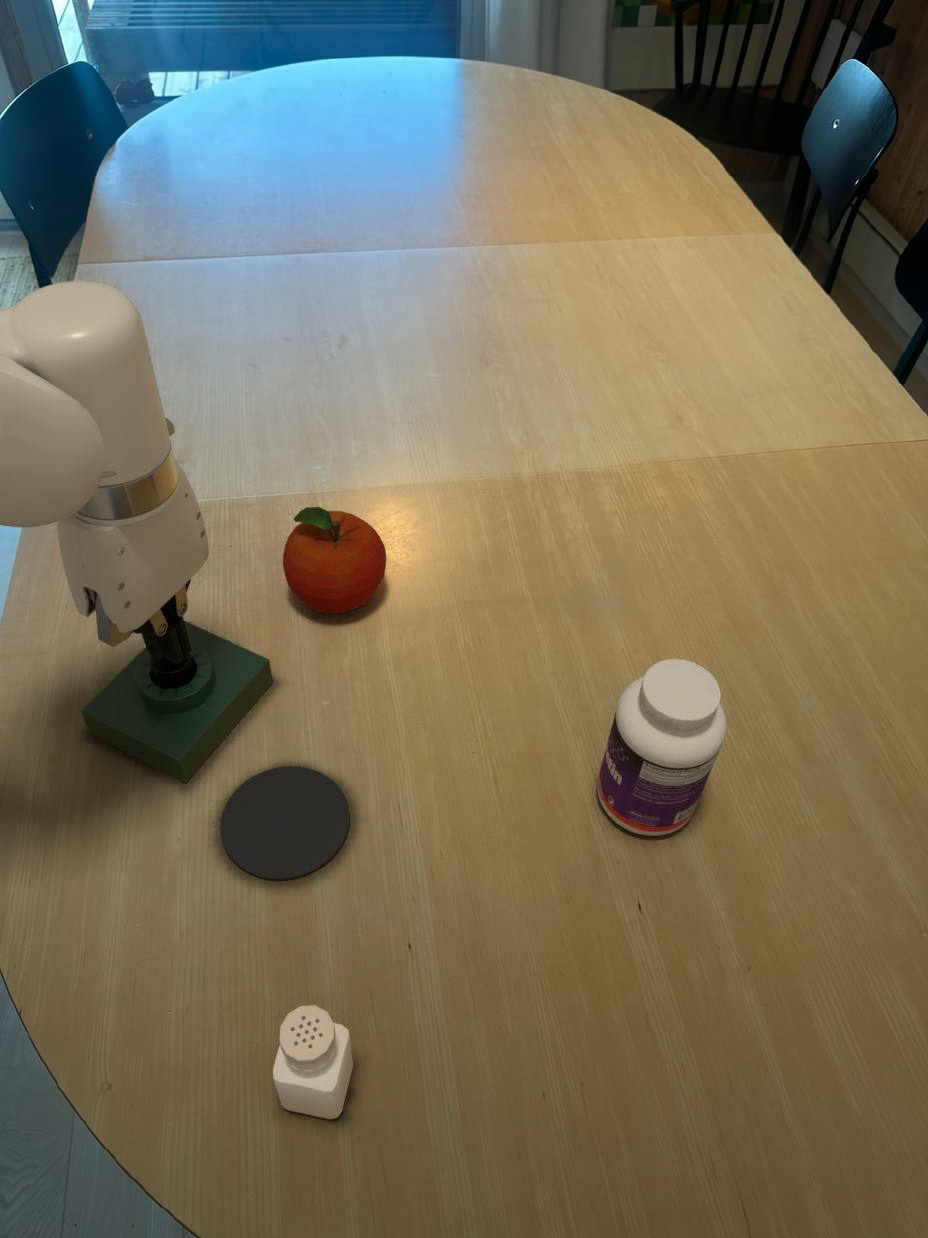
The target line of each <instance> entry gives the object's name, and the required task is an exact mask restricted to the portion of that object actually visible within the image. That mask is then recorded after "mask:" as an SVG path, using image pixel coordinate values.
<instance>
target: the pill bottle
mask: <svg viewBox="0 0 928 1238" xmlns="http://www.w3.org/2000/svg"><path fill="white" fill-rule="evenodd" d="M721 695H722V693H721V689H720V686H719V683H718V682H717V680H716V678H715V677H714V675H713V674H712V673H710V672H709V671H708V670H707V669H706V668H704V667H703V666H702V665H700V664H698V663H695V662H693V661H689V660H687V659H680V658H670V659H664V660H661V661H658V662H656V663H654V664H653V665H651V667H649V668H648V669H647V670H646V672H645V673H644V676H641V677H639V678H638V679H636V680H634V681H633V682H631V683H630V684H629V685H628V686H627V687H626V688H625V689H624V690H623V692H622V694H621V695H620V696H619V699H618V702H617V705H616V709H615V713H614V716H613V721H612V723H611V727H610V732H609V735H608V739H607V743H606V746H605V750H604V754H603V759H602V761H601V765H600V769H599V771H598V777H597V782H596V788H597V796H598V798H599V801H600V804H601V807H602V808H603V809H604V811H605V813H606V814H607V815H608V816H609V817H610V818H611V820H612V821H614V822H615V823H616V824H617V825H619V826H620V827H622V828H623V829H625V830H627V831H629V832H632V833H634V834H638V835H643V836H652V837H653V836H656V837H657V836H665V835H668V834H671V833H673V832H676V831H678V830H680V829H681V828H682V827H684V826H685V825H686V824H687V823H688V822H689V820H690V819H691V818H692V816H693V814H694V813H695V810H696V809H697V806H698V804H699V801H700V799H701V796H702V794H703V791H704V789H705V787H706V784H707V781H708V779H709V776H710V774H711V772H712V770H713V767H714V765H715V762H716V760H717V758H718V755H719V754H720V751H721V748H722V747H723V744H724V741H725V739H726V736H727V735H726V734H727V718H726V717H727V716H726V713H725V711H724V709H723V705H722V704H721V697H722V696H721Z"/></svg>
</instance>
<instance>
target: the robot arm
mask: <svg viewBox="0 0 928 1238" xmlns="http://www.w3.org/2000/svg"><path fill="white" fill-rule="evenodd" d="M144 325H145V324H144V322H143V318H142V315H141V313H140V311H139V309H138V307H137V306H136V305H135V303H134V302H133V300H132V299H131V298H130V297H129V296H128V295H127V294H125V292H123V291H122V290H120V289H119V288H116V287H114V286H111V285H109V284H106V283H104V282H103V283H102V282H98V281H90V280H68V281H61V282H56V283H53V284H49V285H46V286H42V287H39V288H38V289H36V290H34V291H32V292H30V293H29V294H27V295H25V296H24V297H22V298H21V300H20V301H18V302H17V303H16V304H15V305H13V306H10V307H6V308H2V309H0V526H2V527H9V528H10V527H11V528H38V527H42V526H48V525H51V524H54V523H56V526H57V538H58V545H59V551H60V556H61V561H62V565H63V569H64V573H65V578H66V580H67V584H68V588H69V591H70V593H71V597H72V599H73V603H74V606H75V608H76V609H77V611H78V613H79V614H81V615H83V616H84V617H86V618H89V617H90V616H91V615H93V614H94V613H95V617H96V618H95V619H96V630H97V638H98V640H99V641H100V642H102V643H103V644H105V645H108V646H110V647H112V648H116V647H117V646H118V645H120V644H121V643H123V642H125V641H126V640H127V639H129V638H130V637H131V635H132V634H137V635H141V636H142V640H143V642H144V646H145V647H146V649H147V651H148V652H149V653H150V654H151V655H152V656H154V657H156V658H158V659H162V658H165V659H167V660H169V661H171V662H173V663H175V664H179V663H180V662H181V661H182V660H183V656H184V655H188V654H189V653H190V651H191V646H190V642H189V638H188V635H187V631H186V627H185V623H184V621H185V619H184V615H185V614H186V613H187V611H188V608H189V602H188V591H189V587H190V584H191V581H192V578H193V577H194V576H196V574H197V573H198V572H199V571H200V570H201V568H202V567H203V566H204V565H205V563H206V562H207V559H208V558H209V553H210V547H209V546H210V545H209V540H208V533H207V528H206V525H205V521H204V518H203V514H202V511H201V508H200V505H199V502H198V499H197V496H196V494H195V491H194V489H193V486H192V484H191V482H190V480H189V478H188V476H187V474H186V472H185V471H184V469H183V467H182V466H181V464H180V462H178V460H176V458H175V455H174V451H173V445H172V442H171V436H173V435H174V434H175V433H176V428H175V425H174V424H173V422H172V421H171V420H170V419H169V418H167V417H166V416H165V410H164V406H163V403H162V398H161V394H160V389H159V385H158V382H157V377H156V372H155V367H154V363H153V359H152V355H151V350H150V347H149V343H148V338H147V333H146V330H145V329H146V328H145V326H144Z"/></svg>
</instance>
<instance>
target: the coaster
mask: <svg viewBox="0 0 928 1238" xmlns="http://www.w3.org/2000/svg"><path fill="white" fill-rule="evenodd" d="M350 813H351V812H350V807H349V803H348V800H347V797H346V796H345V794H344V792H343V790H342V789H341V788H340V786H339V785H338V784H337V783H336V782H335V781H334V780H332V779H331V778H330V777H329V776H328V775H325V774H324V773H322V772H320V771H317V770H316V769H312V768H308V767H304V766H294V765H292V766H291V765H288V766H280V767H273V768H270V769H266V770H264V771H261V772H259V773H257V774H255V775H253V776H252V777H250V778H248V779H247V780H246V781H244V782H243V783H242V784H241V785H239V787H238V788H237V789H236V790H234V792H233V793H232V794H231V795H230V797H229V798H228V800H227V802H226V804H225V806H224V808H223V811H222V813H221V818H220V826H219V831H220V839H221V843H222V846H223V848H224V851H225V852H226V854H227V856H228V858H229V859H230V860H231V861H232V863H234V864H235V866H237V867H238V868H239V869H240V870H242V871H243V872H245V873H246V874H249V875H251V876H253V877H256V878H259V879H262V880H267V881H274V882H275V881H277V882H282V881H283V882H284V881H291V880H297V879H301V878H305V877H306V876H310V875H311V874H314V873H316V872H317V871H319V870H320V869H322V868H323V867H324V866H326V865H327V864H329V862H331V860H333V859H334V858H335V857H336V856H337V854H339V852H340V850H341V849H342V847H343V846H344V844H345V842H346V839H347V837H348V834H349V830H350V825H351V824H350V823H351V814H350Z"/></svg>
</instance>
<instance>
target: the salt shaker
mask: <svg viewBox="0 0 928 1238" xmlns="http://www.w3.org/2000/svg"><path fill="white" fill-rule="evenodd" d="M278 1041H279V1046H278V1049H277V1051H276V1056H275V1060H274V1064H273V1068H272V1078H273V1082H274V1086H275V1090H276V1093H277V1095H278V1098H279V1102H280V1105H281V1107H283V1108H284V1109H285V1110H287V1111H290V1112H294V1113H298V1114H299V1113H300V1114H304V1115H308V1116H314V1117H317V1118H322V1119H326V1120H335V1119H338V1118H339V1116H340V1115H341V1113H342V1112H343V1109H344V1104H345V1100H346V1097H347V1093H348V1090H349V1084H350V1081H351V1077H352V1073H353V1069H354V1061H353V1053H352V1044H351V1037H350V1030H349V1029H348V1028H347V1027H346V1026H344V1025H343V1024H340V1023H336V1022H334V1021H333V1019H332V1018H331V1016H330V1013H328V1011H327V1010H326V1009H323V1008H321V1007H319V1006H318V1005H315V1004H309V1005H300V1006H298V1007H297V1008H295V1009H293V1010H292V1011H290V1012H289V1013H287V1015H286V1016H285V1018H284V1020H283V1021H282V1023H281V1025H280V1026H279V1040H278Z"/></svg>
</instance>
